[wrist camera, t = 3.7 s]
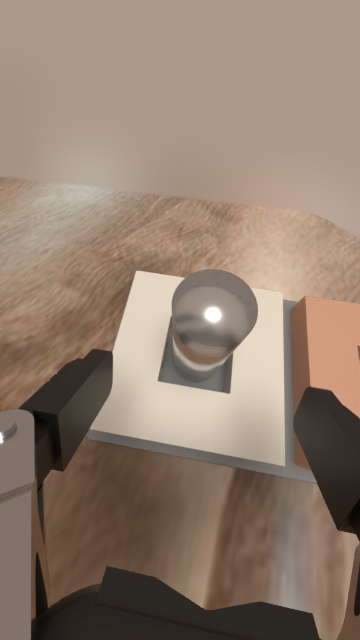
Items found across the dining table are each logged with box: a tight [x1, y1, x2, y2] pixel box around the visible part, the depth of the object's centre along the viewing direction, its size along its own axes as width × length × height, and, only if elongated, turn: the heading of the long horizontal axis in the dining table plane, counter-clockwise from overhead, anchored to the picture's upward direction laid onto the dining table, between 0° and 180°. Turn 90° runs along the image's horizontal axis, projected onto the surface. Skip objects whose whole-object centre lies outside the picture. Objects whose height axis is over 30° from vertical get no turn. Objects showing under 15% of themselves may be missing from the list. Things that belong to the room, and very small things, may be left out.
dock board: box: [86, 271, 360, 483], centre depth 18 cm, size 28×14×4 cm, turn 80°
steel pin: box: [172, 269, 258, 383], centre depth 14 cm, size 4×4×10 cm
